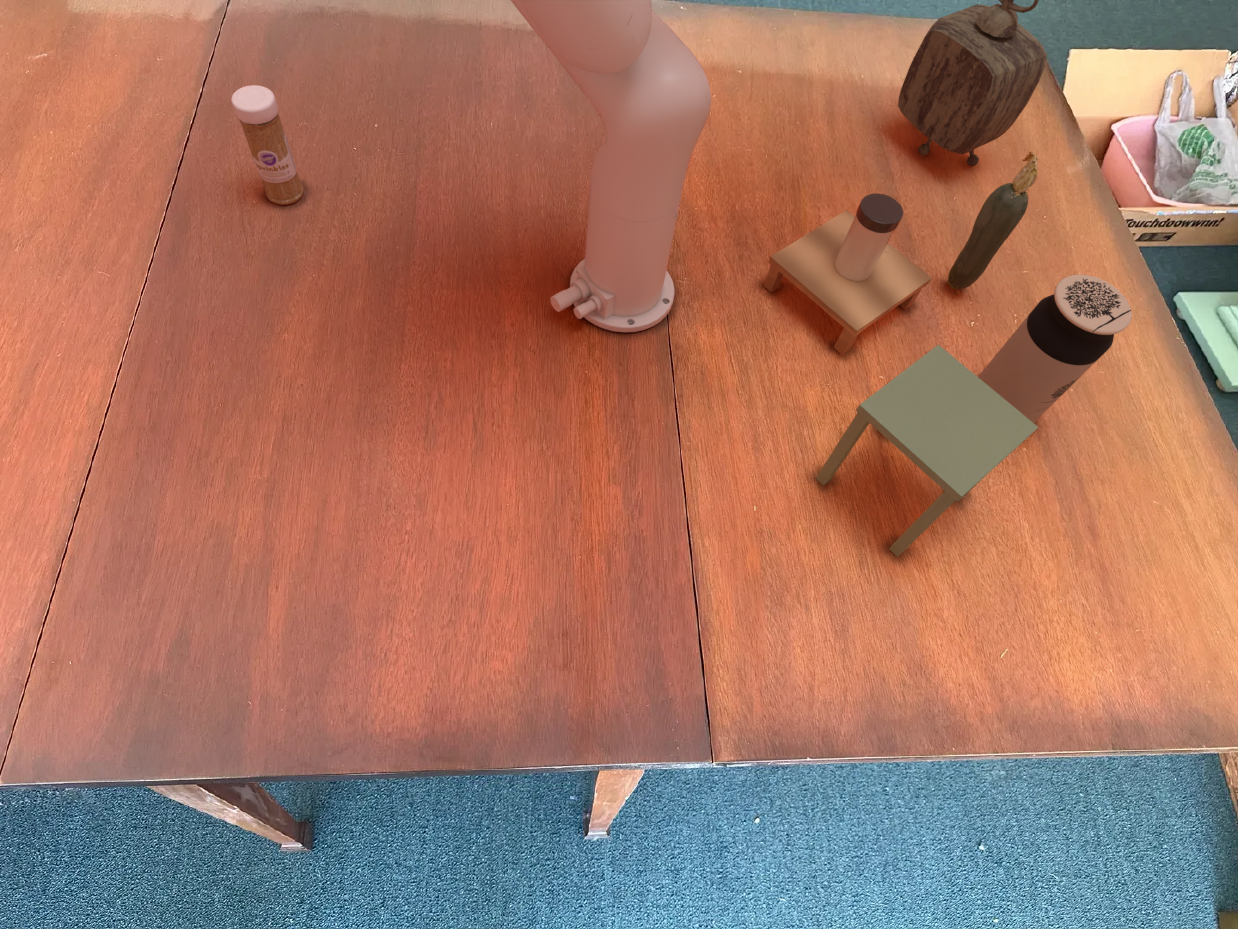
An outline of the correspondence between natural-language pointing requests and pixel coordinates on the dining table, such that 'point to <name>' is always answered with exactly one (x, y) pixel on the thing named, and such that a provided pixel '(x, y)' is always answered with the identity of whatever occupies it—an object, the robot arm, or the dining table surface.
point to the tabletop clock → (972, 77)
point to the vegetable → (993, 226)
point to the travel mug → (1057, 343)
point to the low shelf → (837, 295)
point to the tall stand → (938, 430)
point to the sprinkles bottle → (268, 143)
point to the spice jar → (868, 236)
